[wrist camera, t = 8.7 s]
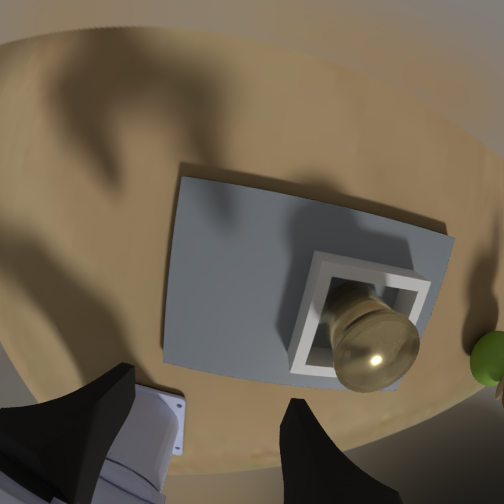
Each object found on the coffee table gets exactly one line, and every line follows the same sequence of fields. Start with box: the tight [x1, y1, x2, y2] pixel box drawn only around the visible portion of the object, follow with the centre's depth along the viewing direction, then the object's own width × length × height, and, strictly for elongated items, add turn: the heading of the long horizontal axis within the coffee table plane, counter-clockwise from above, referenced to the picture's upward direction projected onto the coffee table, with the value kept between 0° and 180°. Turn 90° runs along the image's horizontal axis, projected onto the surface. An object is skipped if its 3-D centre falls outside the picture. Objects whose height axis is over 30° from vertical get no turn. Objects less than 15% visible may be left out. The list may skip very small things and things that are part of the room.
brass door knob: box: [320, 281, 420, 393], centre depth 16 cm, size 5×5×6 cm
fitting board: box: [163, 176, 455, 391], centre depth 19 cm, size 14×20×4 cm
